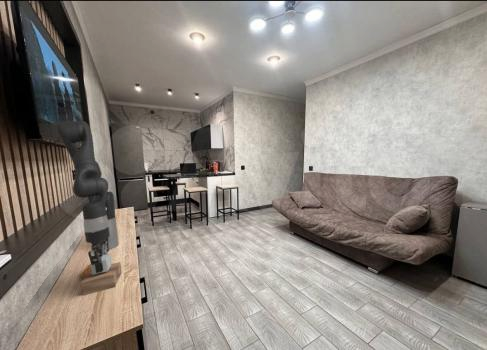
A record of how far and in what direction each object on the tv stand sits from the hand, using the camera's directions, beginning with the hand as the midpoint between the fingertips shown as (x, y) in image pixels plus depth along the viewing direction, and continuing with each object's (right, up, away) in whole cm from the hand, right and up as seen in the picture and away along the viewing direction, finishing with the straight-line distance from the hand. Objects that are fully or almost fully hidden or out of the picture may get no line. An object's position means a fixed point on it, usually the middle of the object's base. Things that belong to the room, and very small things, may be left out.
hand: (102, 267), depth 72 cm
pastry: (-11, -7, +8) cm, 15 cm away
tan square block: (0, -6, 0) cm, 7 cm away
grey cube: (0, -1, 0) cm, 1 cm away
